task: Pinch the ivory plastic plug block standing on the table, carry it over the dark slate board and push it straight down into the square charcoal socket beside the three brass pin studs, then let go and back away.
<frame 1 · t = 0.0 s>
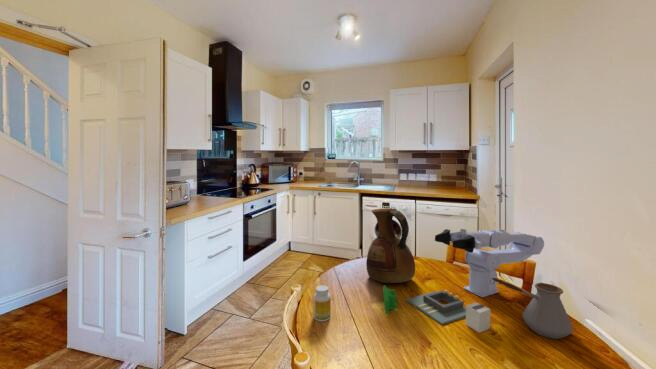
hand: (444, 241, 95), 22 cm above the table, tool horizontal, fingers open, 7 cm apart
ceramic pitcher: (390, 279, 116), on the table
header socket: (442, 305, 94), on the table
supplement bottle: (322, 317, 88), on the table
plug: (477, 326, 82), on the table
coffee pot: (527, 329, 81), on the table
pipe clamp: (389, 306, 95), on the table
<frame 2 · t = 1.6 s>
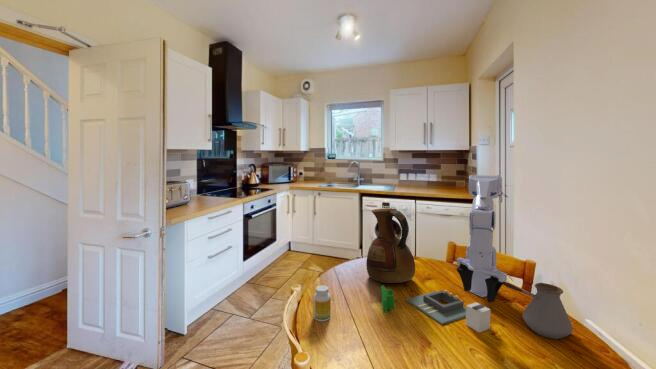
hand: (478, 295, 82), 9 cm above the table, tool pointing down, fingers open, 7 cm apart
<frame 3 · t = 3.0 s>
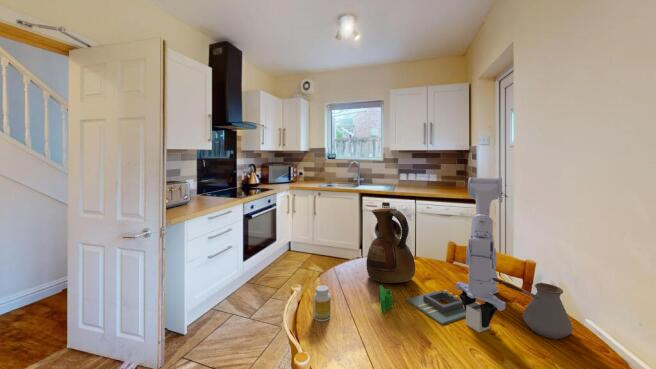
hand: (477, 321, 82), 1 cm above the table, tool pointing down, fingers closed on plug, 4 cm apart
plug: (477, 326, 82), on the table, touching gripper
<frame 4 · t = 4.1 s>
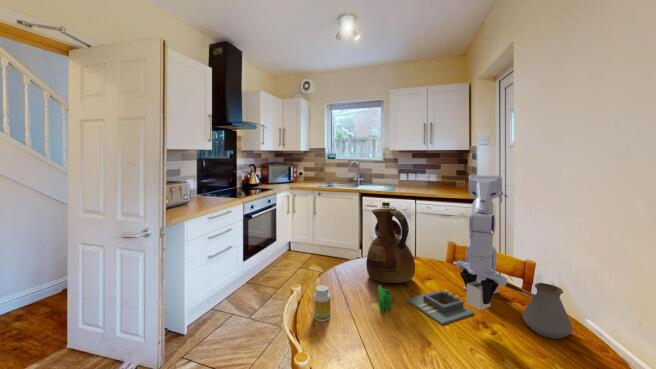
hand: (478, 299, 82), 8 cm above the table, tool pointing down, fingers closed on plug, 4 cm apart
plug: (478, 304, 82), point 7 cm above the table, touching gripper
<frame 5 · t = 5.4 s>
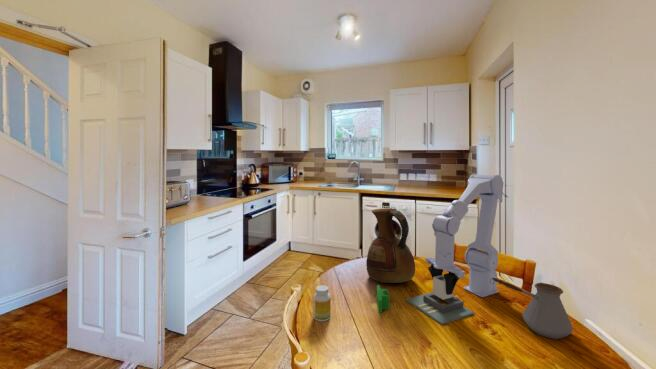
hand: (443, 290, 94), 5 cm above the table, tool pointing down, fingers closed on plug, 4 cm apart
plug: (442, 295, 94), point 4 cm above the table, touching gripper
when the fingers open (3 cm above the table, at t = 6.2 s): plug drops 2 cm, resting in header socket.
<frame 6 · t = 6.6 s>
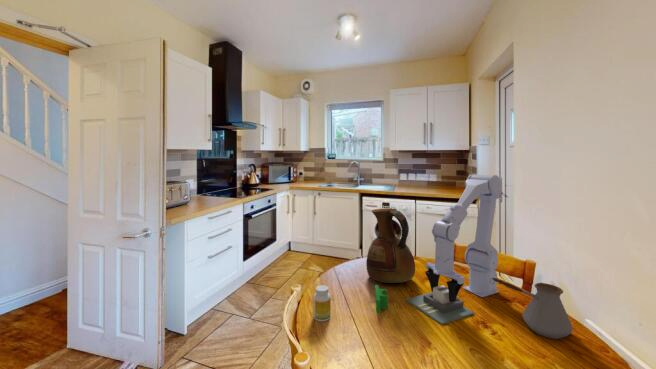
hand: (443, 296, 94), 3 cm above the table, tool pointing down, fingers open, 7 cm apart
plug: (442, 306, 94), resting in header socket
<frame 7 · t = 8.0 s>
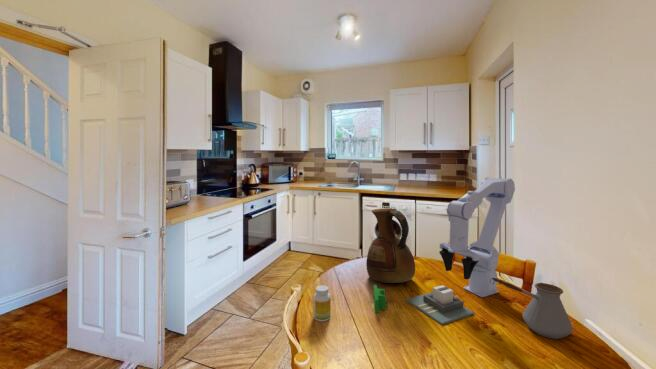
hand: (457, 274, 96), 10 cm above the table, tool pointing down, fingers open, 7 cm apart
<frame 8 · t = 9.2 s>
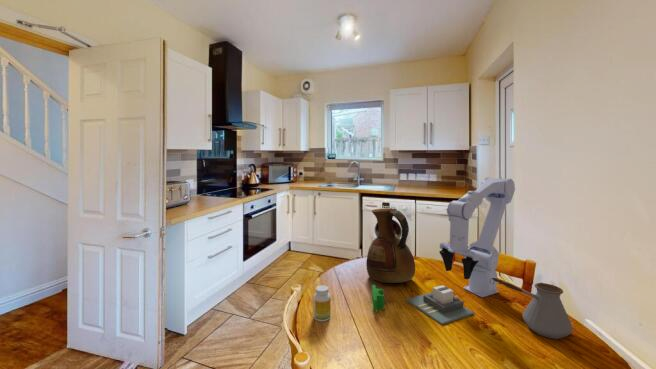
hand: (457, 274, 96), 10 cm above the table, tool pointing down, fingers open, 7 cm apart
at the end: plug 0.1 cm off-centre on the header socket, point 0.0 cm above the header socket's base; plug tilted 0°; the gripper is holding nothing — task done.
